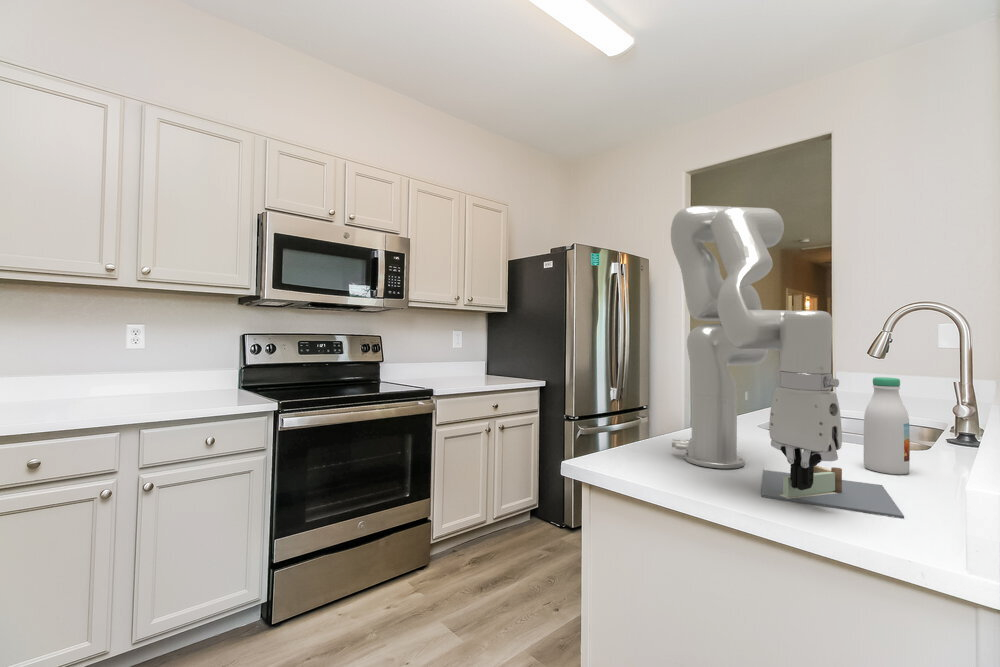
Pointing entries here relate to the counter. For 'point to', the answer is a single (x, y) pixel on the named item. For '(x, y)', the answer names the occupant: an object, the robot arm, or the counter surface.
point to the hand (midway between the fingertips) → (801, 487)
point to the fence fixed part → (837, 476)
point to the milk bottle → (886, 429)
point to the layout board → (836, 496)
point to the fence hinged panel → (820, 484)
